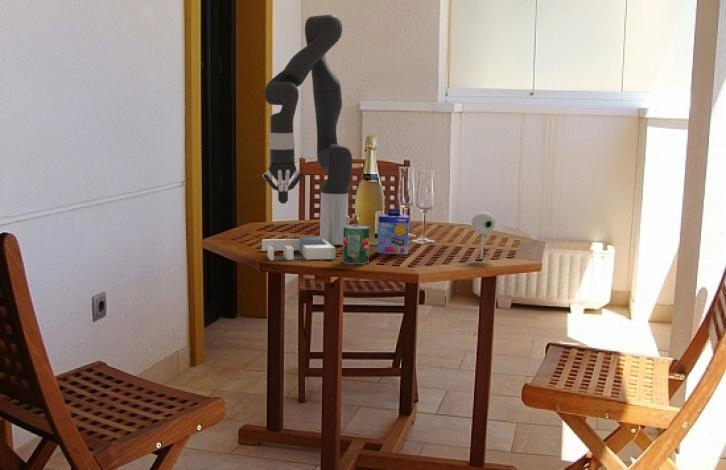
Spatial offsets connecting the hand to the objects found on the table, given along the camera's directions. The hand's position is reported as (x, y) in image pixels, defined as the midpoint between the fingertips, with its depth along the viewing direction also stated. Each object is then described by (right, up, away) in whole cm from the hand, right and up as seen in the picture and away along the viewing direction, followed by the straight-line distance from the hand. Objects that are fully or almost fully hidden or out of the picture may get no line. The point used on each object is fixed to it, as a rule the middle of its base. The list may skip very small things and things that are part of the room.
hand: (283, 203), depth 287 cm
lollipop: (+62, -18, +3) cm, 65 cm away
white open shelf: (+5, -16, +2) cm, 17 cm away
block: (+8, -16, +5) cm, 19 cm away
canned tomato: (+23, -18, -9) cm, 30 cm away
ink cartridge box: (+34, -16, +10) cm, 39 cm away
